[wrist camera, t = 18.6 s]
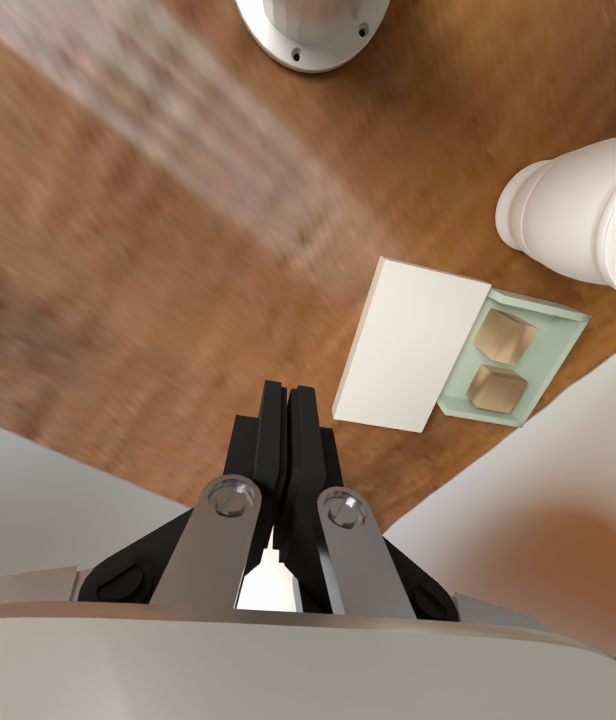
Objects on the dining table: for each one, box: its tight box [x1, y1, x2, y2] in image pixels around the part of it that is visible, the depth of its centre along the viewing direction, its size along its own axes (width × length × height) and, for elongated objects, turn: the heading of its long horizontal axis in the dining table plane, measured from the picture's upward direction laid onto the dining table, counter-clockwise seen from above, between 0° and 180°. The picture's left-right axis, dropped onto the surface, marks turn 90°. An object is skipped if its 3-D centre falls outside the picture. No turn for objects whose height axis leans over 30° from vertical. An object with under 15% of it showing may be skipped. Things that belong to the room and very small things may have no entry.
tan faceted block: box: [472, 308, 539, 366], centre depth 38 cm, size 4×4×3 cm
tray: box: [436, 287, 592, 428], centre depth 40 cm, size 15×10×4 cm
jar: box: [495, 137, 616, 290], centre depth 28 cm, size 11×10×15 cm
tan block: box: [466, 364, 528, 413], centre depth 42 cm, size 4×4×3 cm
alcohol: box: [237, 528, 296, 612], centre depth 35 cm, size 9×9×30 cm
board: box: [332, 256, 491, 433], centre depth 40 cm, size 20×12×2 cm, turn 167°
